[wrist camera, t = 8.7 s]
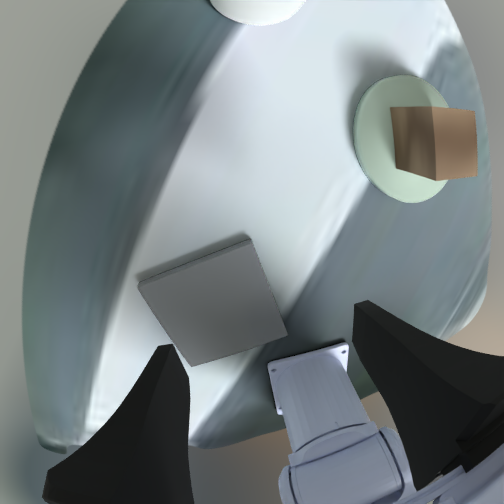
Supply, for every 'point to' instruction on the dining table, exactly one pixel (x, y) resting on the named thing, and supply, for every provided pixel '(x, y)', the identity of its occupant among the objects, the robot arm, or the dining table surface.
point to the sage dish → (381, 136)
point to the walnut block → (435, 141)
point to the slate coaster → (215, 304)
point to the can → (258, 10)
